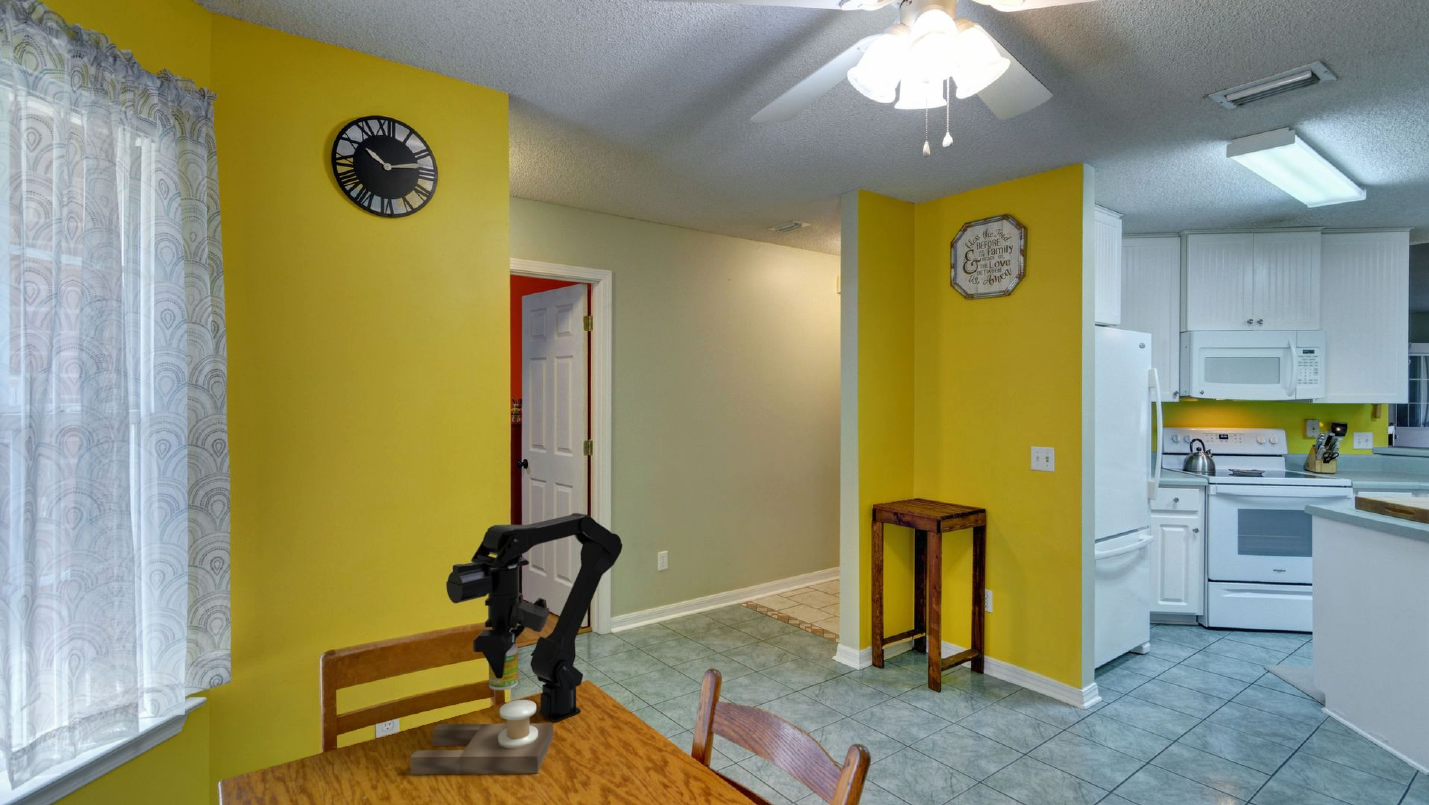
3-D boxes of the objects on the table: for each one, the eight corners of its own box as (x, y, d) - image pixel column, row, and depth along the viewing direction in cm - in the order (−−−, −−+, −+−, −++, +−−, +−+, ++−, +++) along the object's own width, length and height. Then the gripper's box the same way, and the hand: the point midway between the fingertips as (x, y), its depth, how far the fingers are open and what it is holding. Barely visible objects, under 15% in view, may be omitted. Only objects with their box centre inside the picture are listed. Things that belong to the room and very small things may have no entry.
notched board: (553, 739, 131) (553, 723, 131) (537, 773, 119) (537, 756, 119) (437, 740, 130) (437, 724, 130) (410, 774, 118) (410, 757, 118)
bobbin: (525, 726, 129) (525, 695, 129) (545, 739, 125) (545, 707, 125) (491, 739, 124) (491, 707, 124) (510, 753, 120) (510, 720, 120)
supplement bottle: (504, 693, 128) (504, 641, 128) (482, 687, 130) (482, 637, 130) (523, 682, 133) (524, 632, 133) (503, 677, 135) (503, 628, 135)
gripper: (534, 605, 122) (534, 692, 123) (555, 578, 141) (555, 653, 141) (472, 606, 122) (472, 693, 122) (500, 579, 141) (500, 654, 141)
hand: (503, 672), depth 132 cm, fingers closed on supplement bottle, 5 cm apart
